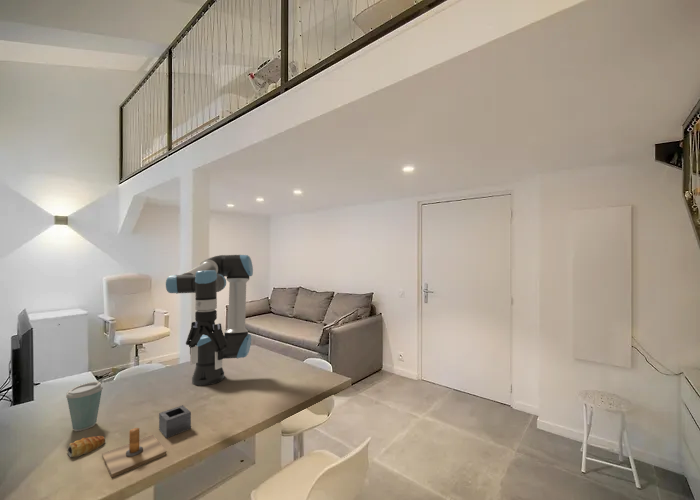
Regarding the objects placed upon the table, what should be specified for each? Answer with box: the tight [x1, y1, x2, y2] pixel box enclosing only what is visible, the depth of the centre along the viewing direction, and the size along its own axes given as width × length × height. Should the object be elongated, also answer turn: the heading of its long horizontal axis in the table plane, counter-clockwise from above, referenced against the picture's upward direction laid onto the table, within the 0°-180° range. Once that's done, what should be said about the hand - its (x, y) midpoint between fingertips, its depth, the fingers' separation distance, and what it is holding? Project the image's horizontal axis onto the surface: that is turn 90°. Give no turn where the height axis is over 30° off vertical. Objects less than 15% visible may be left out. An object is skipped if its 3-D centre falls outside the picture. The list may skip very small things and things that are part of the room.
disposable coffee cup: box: [65, 380, 103, 432], centre depth 116 cm, size 11×11×15 cm
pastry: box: [66, 435, 106, 458], centre depth 102 cm, size 9×7×4 cm
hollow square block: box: [158, 405, 192, 439], centre depth 113 cm, size 8×8×6 cm
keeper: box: [101, 427, 167, 478], centre depth 98 cm, size 14×14×8 cm
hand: (206, 365), depth 118 cm, fingers open, 13 cm apart
